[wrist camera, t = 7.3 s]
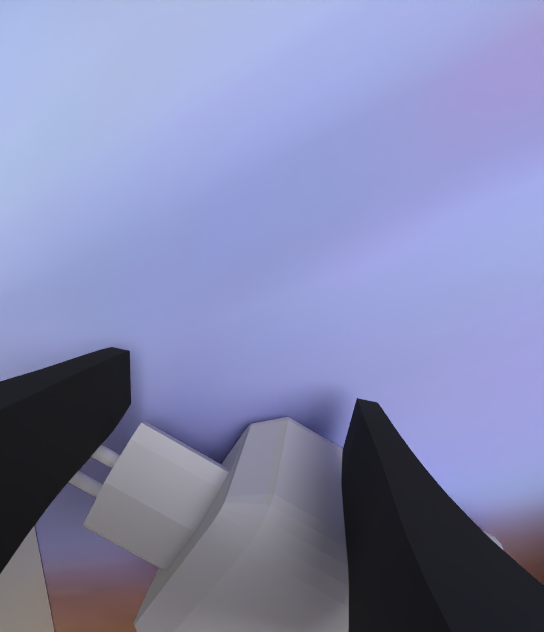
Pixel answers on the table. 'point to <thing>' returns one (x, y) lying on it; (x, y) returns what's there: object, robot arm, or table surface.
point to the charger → (230, 529)
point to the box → (25, 591)
